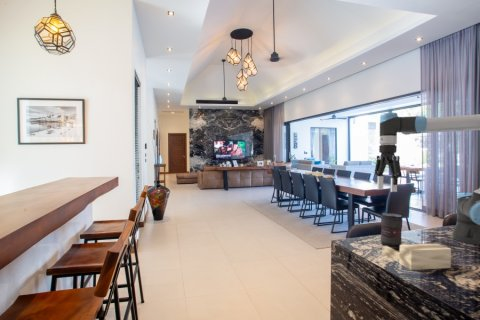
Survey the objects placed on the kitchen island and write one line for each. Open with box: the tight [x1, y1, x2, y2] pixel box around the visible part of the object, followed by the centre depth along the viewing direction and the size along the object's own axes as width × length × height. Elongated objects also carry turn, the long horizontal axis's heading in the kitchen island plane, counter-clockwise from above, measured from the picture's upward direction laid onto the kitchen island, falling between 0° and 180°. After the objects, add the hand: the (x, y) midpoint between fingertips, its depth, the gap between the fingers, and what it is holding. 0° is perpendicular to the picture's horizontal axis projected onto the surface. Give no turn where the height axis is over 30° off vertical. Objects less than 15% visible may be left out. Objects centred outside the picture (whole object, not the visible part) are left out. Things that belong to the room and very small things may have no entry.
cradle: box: [381, 243, 452, 271], centre depth 110 cm, size 17×16×7 cm
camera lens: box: [380, 212, 403, 252], centre depth 123 cm, size 8×8×15 cm
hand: (386, 190), depth 138 cm, fingers open, 9 cm apart
